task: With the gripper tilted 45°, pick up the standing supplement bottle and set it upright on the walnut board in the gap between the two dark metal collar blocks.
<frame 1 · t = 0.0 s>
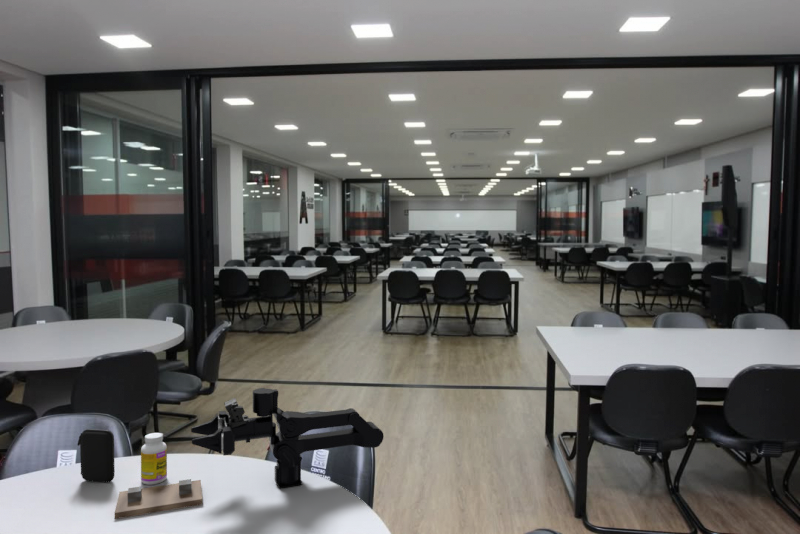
hand: (191, 435, 142), 17 cm above the table, tool horizontal, fingers open, 9 cm apart
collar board: (160, 501, 141), on the table
carrying case or bag: (96, 482, 152), on the table
supplement bottle: (154, 481, 153), on the table
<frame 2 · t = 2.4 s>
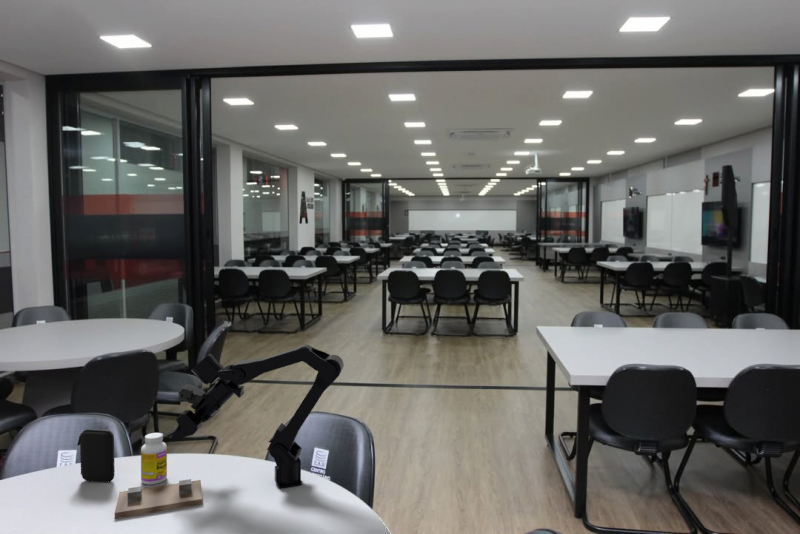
hand: (178, 434, 152), 13 cm above the table, tool tilted 45°, fingers open, 9 cm apart
nothing on the table moved.
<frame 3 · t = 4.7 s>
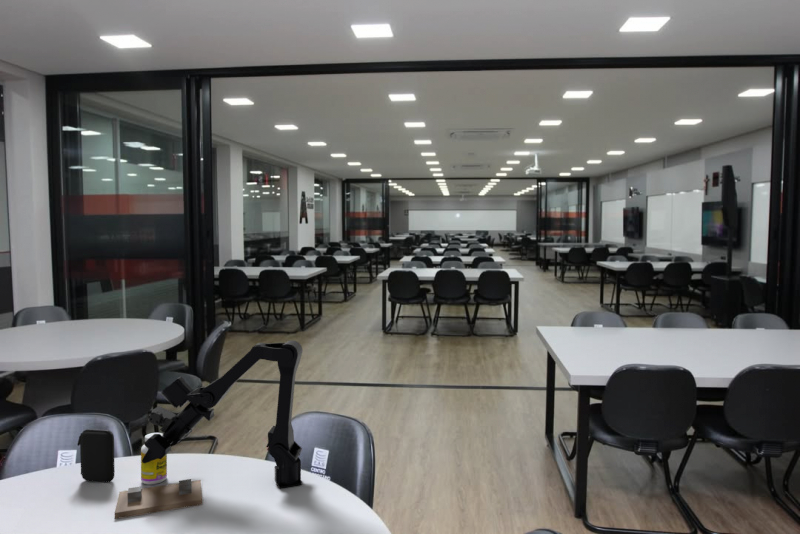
hand: (149, 457, 153), 7 cm above the table, tool tilted 45°, fingers closed on supplement bottle, 7 cm apart
supplement bottle: (154, 480, 153), on the table, touching gripper
everything else where it was.
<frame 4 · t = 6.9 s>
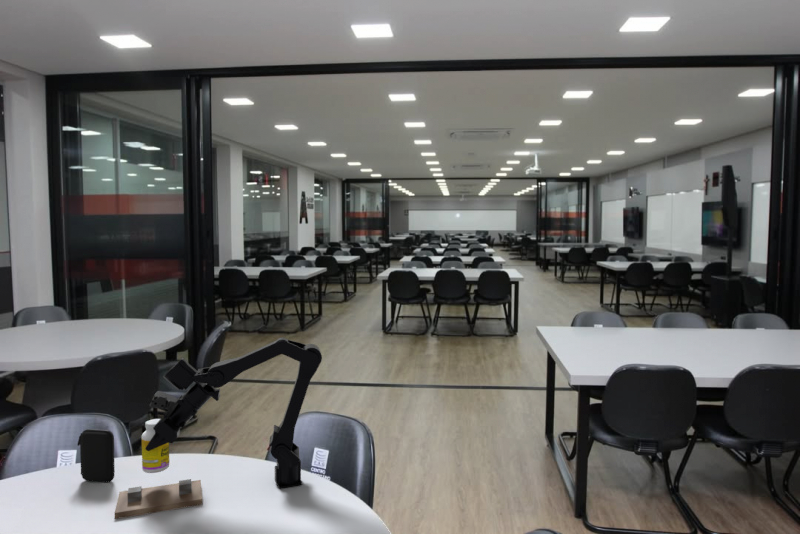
hand: (150, 444, 145), 13 cm above the table, tool tilted 45°, fingers closed on supplement bottle, 7 cm apart
supplement bottle: (156, 469, 145), point 6 cm above the table, touching gripper
everything else where it was.
when the fingers open (9 cm above the table, at t = 8.9 s): supplement bottle stays where it is, resting on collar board.
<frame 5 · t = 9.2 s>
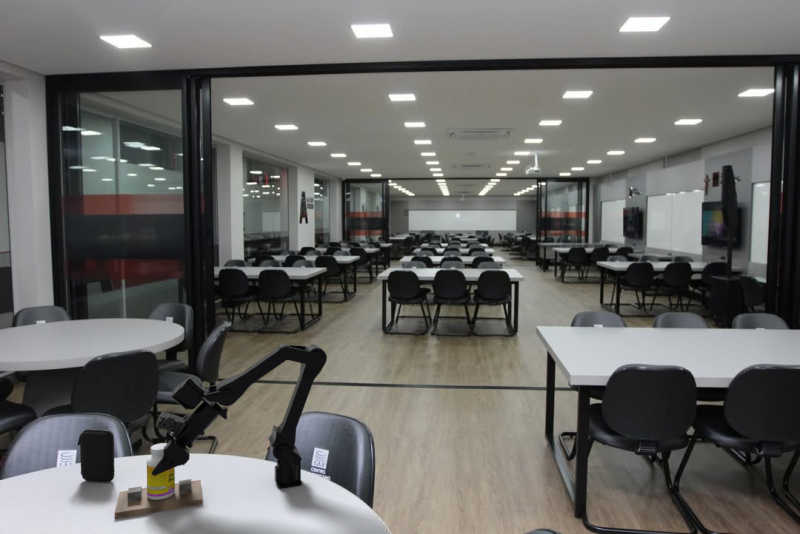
hand: (154, 467, 140), 9 cm above the table, tool tilted 45°, fingers open, 9 cm apart
supplement bottle: (161, 495, 141), point 1 cm above the table, touching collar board
everything else where it was.
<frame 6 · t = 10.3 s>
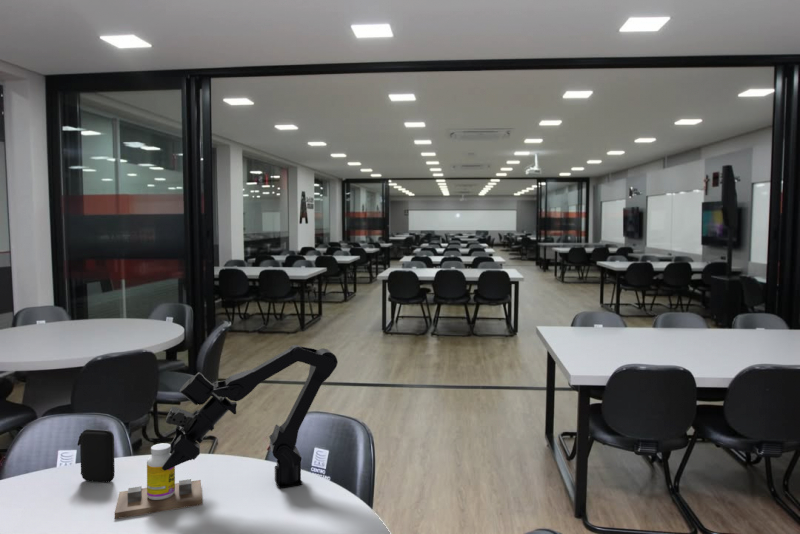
hand: (164, 462, 141), 10 cm above the table, tool tilted 45°, fingers open, 9 cm apart
nothing on the table moved.
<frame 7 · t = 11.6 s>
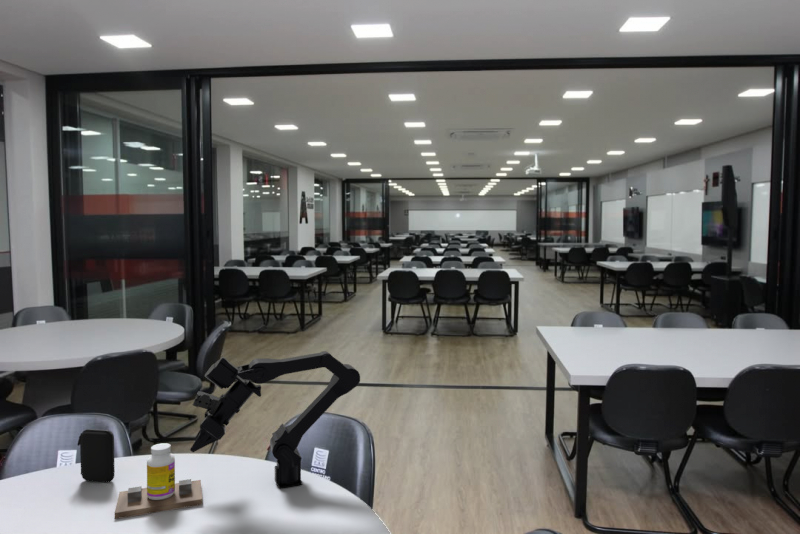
hand: (193, 445, 144), 13 cm above the table, tool tilted 40°, fingers open, 9 cm apart
nothing on the table moved.
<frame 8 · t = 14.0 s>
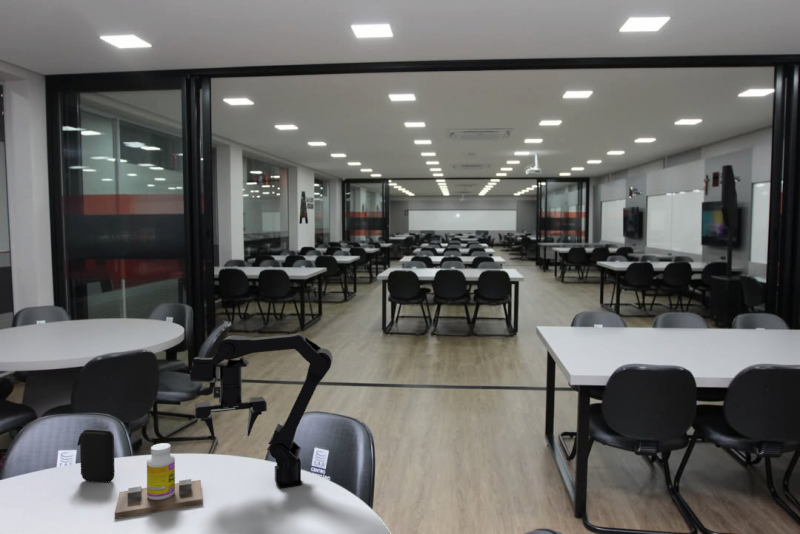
hand: (231, 437, 151), 13 cm above the table, tool pointing down, fingers open, 9 cm apart
nothing on the table moved.
at the end: supplement bottle 0.2 cm off-centre on the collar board, point 1.3 cm above the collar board's base; supplement bottle tilted 0°; the gripper is holding nothing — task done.
